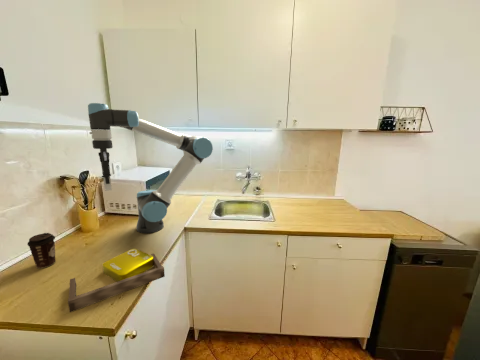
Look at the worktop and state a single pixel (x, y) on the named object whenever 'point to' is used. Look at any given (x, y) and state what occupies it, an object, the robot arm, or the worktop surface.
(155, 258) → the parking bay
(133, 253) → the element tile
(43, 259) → the coffee cup
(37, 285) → the worktop surface
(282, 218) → the worktop surface
